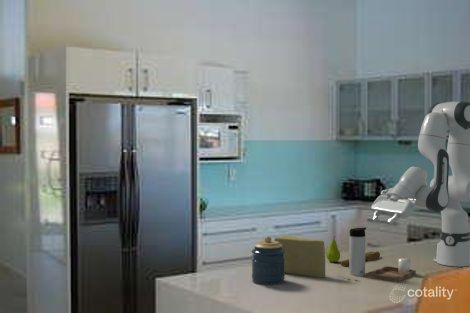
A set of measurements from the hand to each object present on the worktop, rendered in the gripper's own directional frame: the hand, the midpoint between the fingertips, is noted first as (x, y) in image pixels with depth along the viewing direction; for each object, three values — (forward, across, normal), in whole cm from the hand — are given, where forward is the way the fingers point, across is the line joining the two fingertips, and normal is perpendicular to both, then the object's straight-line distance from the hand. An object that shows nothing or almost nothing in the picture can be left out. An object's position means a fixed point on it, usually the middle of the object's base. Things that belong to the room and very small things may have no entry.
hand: (381, 222), depth 249 cm
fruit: (+17, +29, -13) cm, 36 cm away
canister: (+49, +11, +18) cm, 53 cm away
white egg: (+11, -9, -17) cm, 22 cm away
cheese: (+36, +16, +5) cm, 39 cm away
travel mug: (+24, 0, -7) cm, 25 cm away
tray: (+17, -8, -14) cm, 23 cm away
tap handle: (+9, +24, -22) cm, 34 cm away
